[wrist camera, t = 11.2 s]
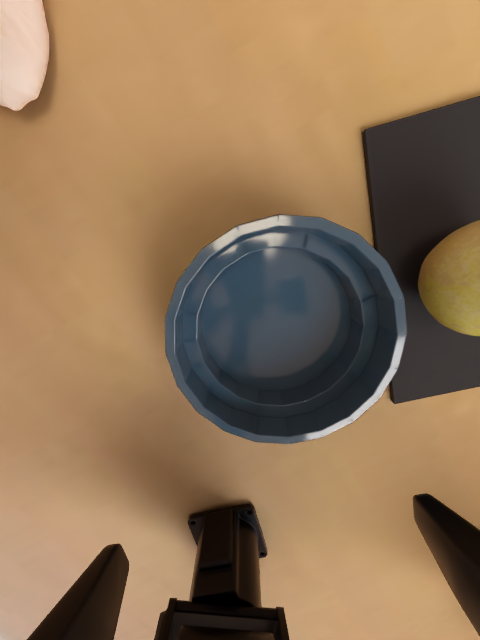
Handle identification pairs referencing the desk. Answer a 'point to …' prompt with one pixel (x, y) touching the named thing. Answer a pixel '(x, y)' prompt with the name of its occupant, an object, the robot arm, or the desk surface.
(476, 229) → the fruit
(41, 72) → the skull planter
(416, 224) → the place mat
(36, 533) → the desk surface
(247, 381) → the bowl
